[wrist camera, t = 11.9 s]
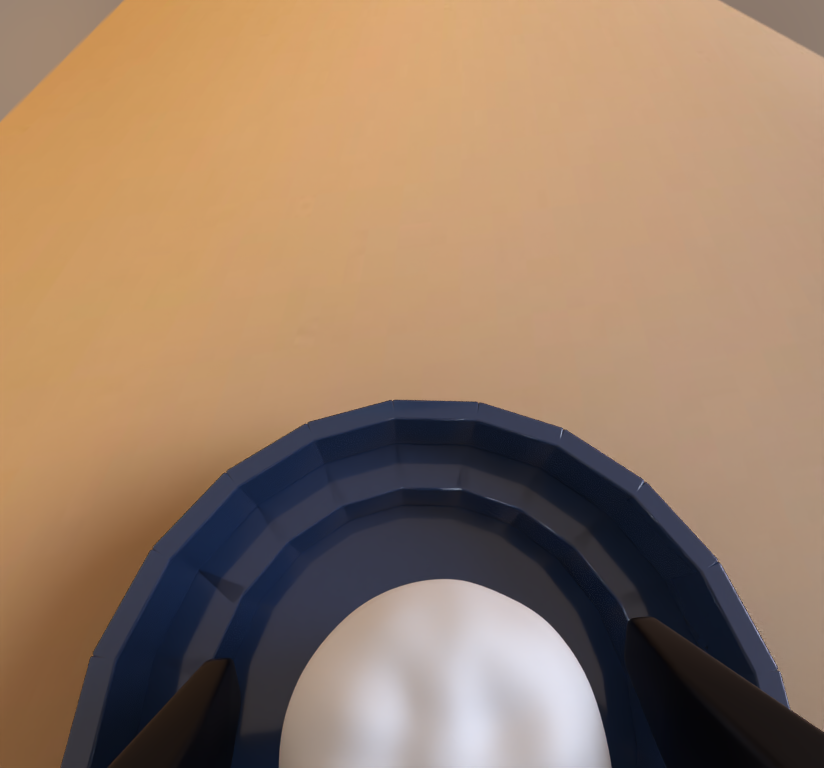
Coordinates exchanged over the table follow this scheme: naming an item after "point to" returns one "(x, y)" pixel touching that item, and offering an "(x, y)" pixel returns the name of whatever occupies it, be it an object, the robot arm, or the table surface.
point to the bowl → (407, 567)
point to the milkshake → (443, 688)
